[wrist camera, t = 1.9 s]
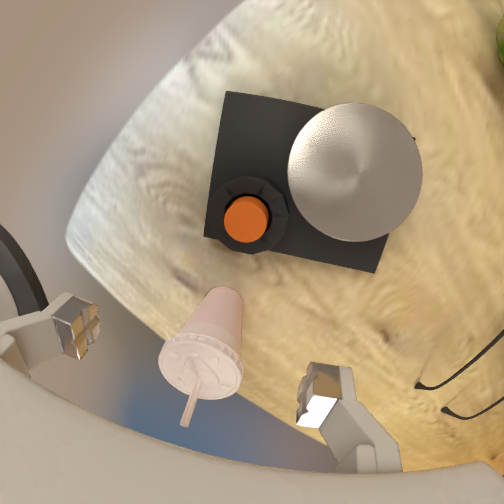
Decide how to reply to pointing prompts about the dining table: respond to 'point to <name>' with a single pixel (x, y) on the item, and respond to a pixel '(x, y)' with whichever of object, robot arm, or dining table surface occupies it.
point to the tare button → (246, 219)
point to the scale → (272, 183)
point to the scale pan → (354, 172)
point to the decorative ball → (501, 39)
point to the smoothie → (206, 350)
